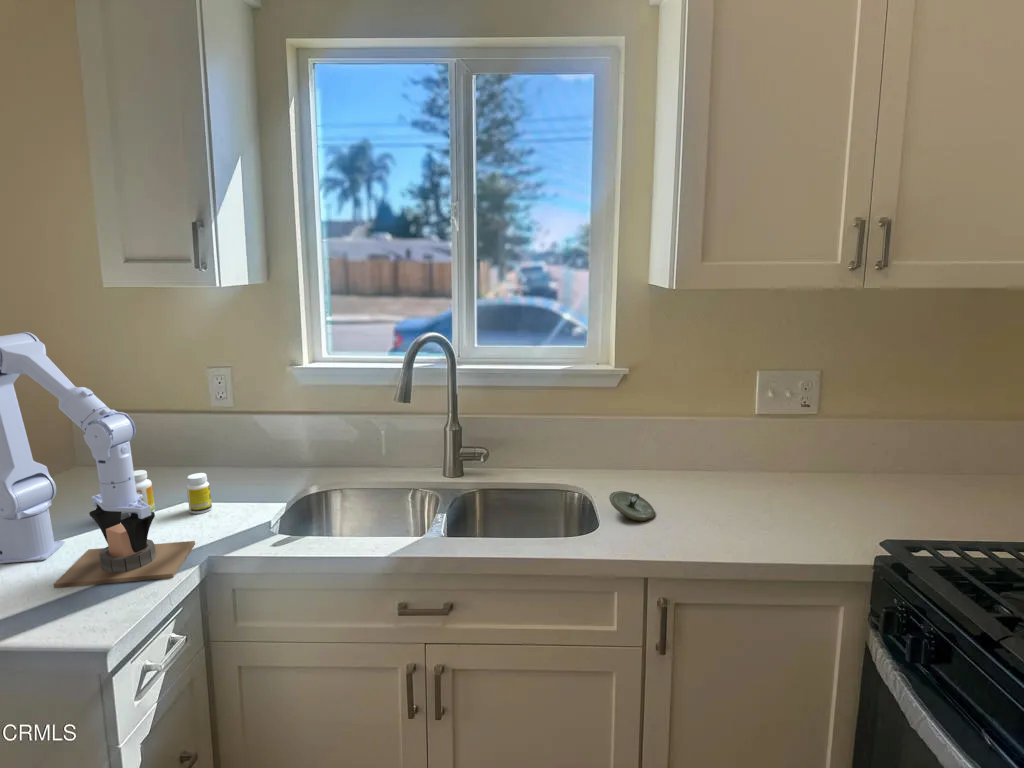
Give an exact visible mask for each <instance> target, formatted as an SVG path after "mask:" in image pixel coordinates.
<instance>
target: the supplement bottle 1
mask: <svg viewBox="0 0 1024 768" xmlns="http://www.w3.org/2000/svg"><path fill="white" fill-rule="evenodd" d="M134 477H135V484H136V492H137V494H142V496H143V498H142V499H141V500H142V501H143V502H144V503H145V504H147V505H150V508H151V512H154V513H155V511H156V506H155V505H156V504H155V498H154V491H153V485H152V484H153V483H152V481H151V479H148V472H147V470H145V469H139V470H134ZM128 515H129V517H131V515H130V514H129V513H128Z"/></svg>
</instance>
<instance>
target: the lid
mask: <svg viewBox="0 0 1024 768" xmlns="http://www.w3.org/2000/svg"><path fill="white" fill-rule="evenodd" d="M608 499H609V502H610V504H611V506H612V507H613V508H614V509H615V510H616V511H617V512H619V513H620V514H621V515H623V516H625V517H627V518H629V519H631V520H635V521H638V522H646V521H650V520H652V519H653V518H654V517H655V515H656V512H655V509H654V508H653V506H652V505H651V504H650V503H649V502H648V501H647V500H646V499H645V498H644V497H641V496H640V494H639V493H633V492H629V491H623V490H621V491H620V490H618V491H614V492H611V493H610V495H609V498H608Z"/></svg>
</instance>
